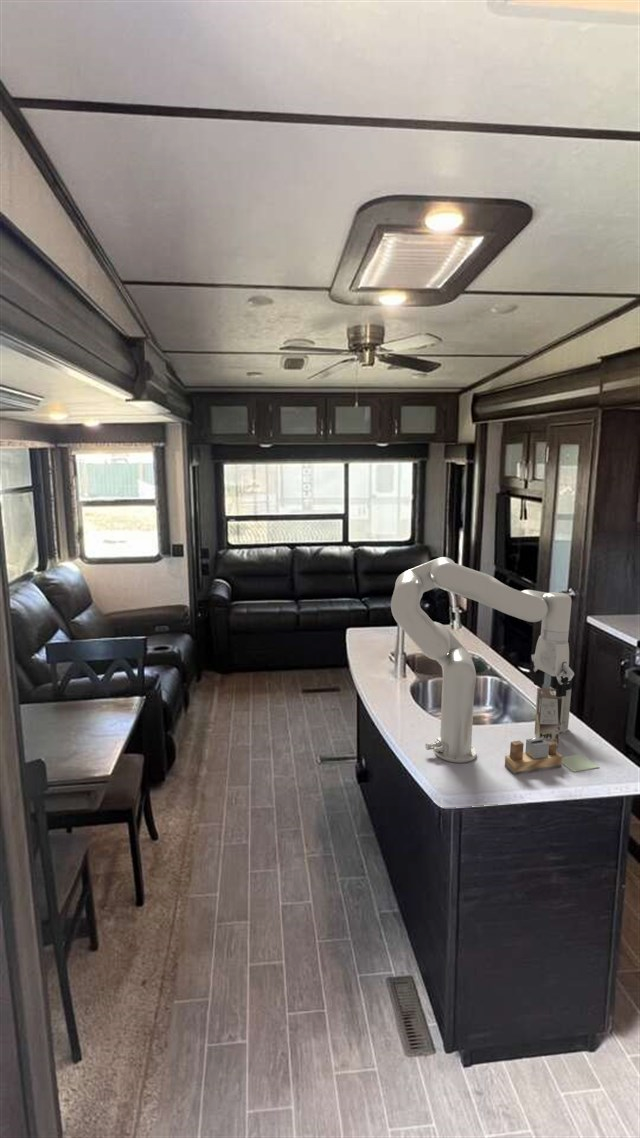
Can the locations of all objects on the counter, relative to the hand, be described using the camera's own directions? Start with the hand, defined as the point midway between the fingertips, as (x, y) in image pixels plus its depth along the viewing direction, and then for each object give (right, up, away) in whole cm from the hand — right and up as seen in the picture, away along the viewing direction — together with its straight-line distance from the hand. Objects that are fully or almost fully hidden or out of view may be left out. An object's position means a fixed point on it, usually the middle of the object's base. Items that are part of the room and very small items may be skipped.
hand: (549, 690), depth 180 cm
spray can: (+12, -18, +25) cm, 33 cm away
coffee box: (+5, -20, +17) cm, 26 cm away
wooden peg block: (-5, -23, -1) cm, 23 cm away
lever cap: (-4, -19, -1) cm, 20 cm away
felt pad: (+9, -22, +1) cm, 24 cm away
